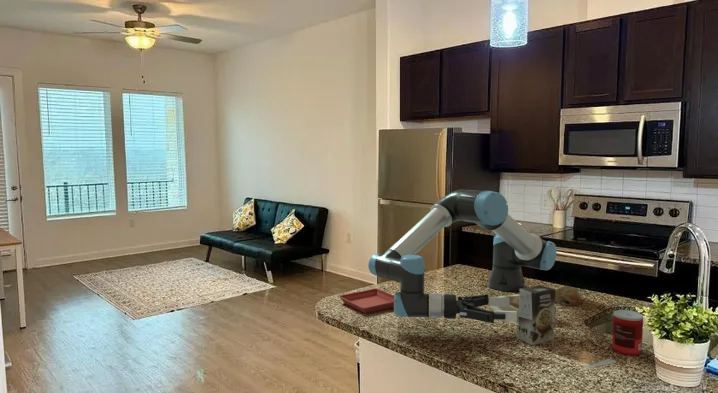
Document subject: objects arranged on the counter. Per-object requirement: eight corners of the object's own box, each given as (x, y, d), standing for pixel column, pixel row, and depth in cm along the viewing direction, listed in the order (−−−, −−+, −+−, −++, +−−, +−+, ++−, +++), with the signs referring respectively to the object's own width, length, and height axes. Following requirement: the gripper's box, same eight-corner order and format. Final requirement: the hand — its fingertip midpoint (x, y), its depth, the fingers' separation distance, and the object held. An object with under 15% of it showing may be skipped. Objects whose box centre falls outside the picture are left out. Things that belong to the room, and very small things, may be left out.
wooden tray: (524, 306, 185) (524, 293, 184) (555, 321, 169) (556, 306, 168) (489, 310, 180) (489, 297, 179) (519, 326, 164) (519, 311, 163)
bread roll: (552, 311, 190) (553, 295, 186) (553, 294, 198) (553, 278, 194) (580, 314, 186) (581, 298, 182) (580, 296, 194) (581, 281, 191)
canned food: (634, 346, 147) (635, 310, 146) (646, 357, 139) (648, 319, 138) (607, 345, 148) (608, 309, 147) (618, 356, 140) (620, 318, 139)
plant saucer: (363, 316, 175) (363, 307, 175) (338, 303, 190) (338, 295, 190) (403, 308, 185) (403, 299, 185) (376, 296, 200) (376, 288, 200)
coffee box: (533, 345, 147) (534, 293, 146) (517, 338, 153) (518, 287, 151) (554, 340, 151) (556, 289, 150) (538, 333, 157) (539, 284, 156)
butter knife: (619, 362, 135) (610, 358, 138) (554, 379, 125) (545, 374, 128) (619, 363, 135) (610, 359, 138) (554, 380, 125) (545, 376, 128)
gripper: (442, 305, 168) (506, 308, 165) (444, 331, 143) (519, 335, 140) (442, 284, 167) (506, 286, 164) (444, 306, 143) (520, 309, 139)
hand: (513, 308), depth 152 cm, fingers open, 13 cm apart
